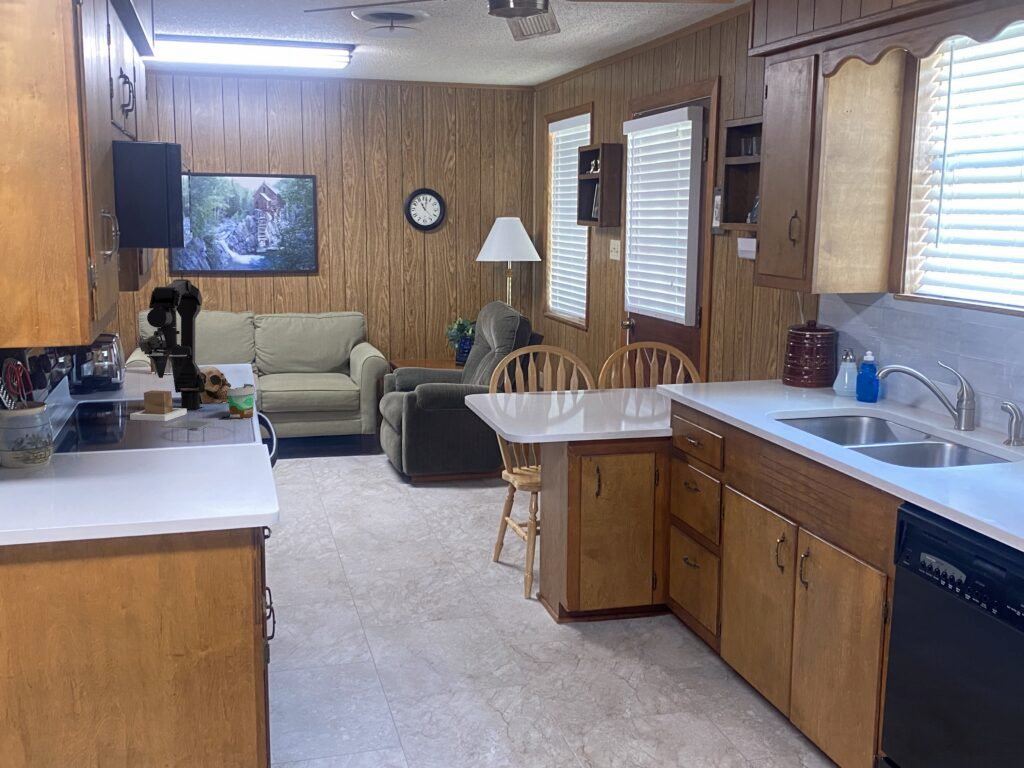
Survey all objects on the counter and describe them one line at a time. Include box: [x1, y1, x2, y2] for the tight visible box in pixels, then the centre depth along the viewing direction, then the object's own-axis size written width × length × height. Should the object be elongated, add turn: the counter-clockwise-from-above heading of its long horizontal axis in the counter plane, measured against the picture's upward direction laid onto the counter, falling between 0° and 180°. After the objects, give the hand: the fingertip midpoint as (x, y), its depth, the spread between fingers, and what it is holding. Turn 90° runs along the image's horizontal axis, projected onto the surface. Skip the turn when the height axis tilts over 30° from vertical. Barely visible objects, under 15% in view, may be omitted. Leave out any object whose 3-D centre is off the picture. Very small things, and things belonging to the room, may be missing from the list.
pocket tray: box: [129, 407, 188, 422], centre depth 314 cm, size 13×12×2 cm
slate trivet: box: [161, 419, 215, 431], centre depth 301 cm, size 10×12×1 cm
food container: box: [227, 383, 257, 420], centre depth 316 cm, size 12×6×10 cm, turn 168°
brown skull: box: [181, 365, 232, 404], centre depth 346 cm, size 16×17×13 cm
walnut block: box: [143, 390, 173, 415], centre depth 313 cm, size 4×7×8 cm, turn 78°
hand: (168, 378), depth 303 cm, fingers open, 9 cm apart
